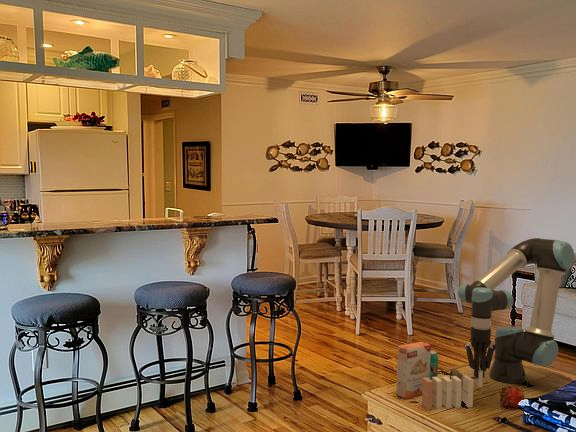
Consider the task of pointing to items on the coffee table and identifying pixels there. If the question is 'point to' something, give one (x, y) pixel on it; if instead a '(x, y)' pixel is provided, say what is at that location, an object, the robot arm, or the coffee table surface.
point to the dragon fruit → (511, 396)
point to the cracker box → (412, 368)
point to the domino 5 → (467, 391)
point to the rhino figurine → (456, 374)
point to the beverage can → (433, 364)
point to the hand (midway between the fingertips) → (478, 385)
